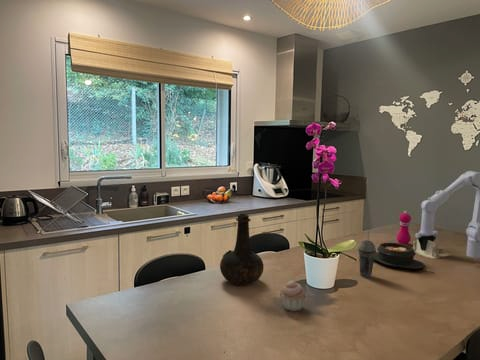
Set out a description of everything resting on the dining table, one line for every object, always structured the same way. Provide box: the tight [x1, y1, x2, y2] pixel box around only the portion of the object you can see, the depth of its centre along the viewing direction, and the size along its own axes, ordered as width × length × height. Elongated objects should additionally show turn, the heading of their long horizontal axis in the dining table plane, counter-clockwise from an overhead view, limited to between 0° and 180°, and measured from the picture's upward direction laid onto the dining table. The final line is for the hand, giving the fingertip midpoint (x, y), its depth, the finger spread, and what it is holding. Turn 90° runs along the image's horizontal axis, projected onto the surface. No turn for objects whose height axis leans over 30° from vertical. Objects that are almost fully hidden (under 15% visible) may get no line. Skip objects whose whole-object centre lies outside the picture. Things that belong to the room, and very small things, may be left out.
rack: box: [412, 239, 451, 260], centre depth 190 cm, size 15×14×6 cm
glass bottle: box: [219, 213, 264, 287], centre depth 149 cm, size 18×18×28 cm
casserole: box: [374, 242, 425, 270], centre depth 175 cm, size 25×19×8 cm
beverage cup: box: [358, 229, 377, 279], centre depth 158 cm, size 7×7×20 cm
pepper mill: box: [396, 210, 412, 246], centre depth 204 cm, size 7×7×20 cm
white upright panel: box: [416, 237, 436, 256], centre depth 189 cm, size 2×9×7 cm, turn 26°
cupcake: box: [279, 279, 307, 312], centre depth 128 cm, size 9×9×10 cm
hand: (425, 249), depth 189 cm, fingers open, 3 cm apart
